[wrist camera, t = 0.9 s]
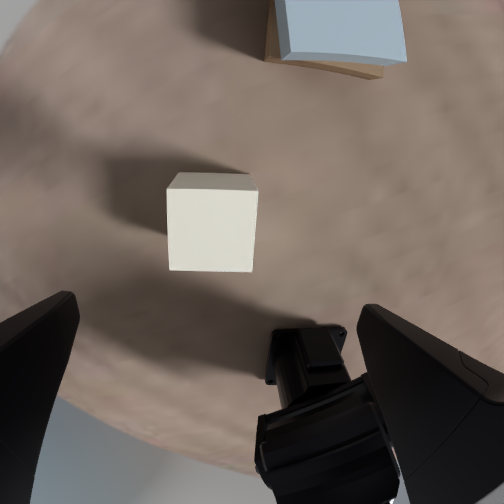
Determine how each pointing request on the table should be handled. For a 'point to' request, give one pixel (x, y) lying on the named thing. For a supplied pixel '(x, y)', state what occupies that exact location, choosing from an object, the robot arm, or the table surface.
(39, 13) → the table surface
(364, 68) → the tower base
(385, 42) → the tower mid
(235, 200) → the cube
